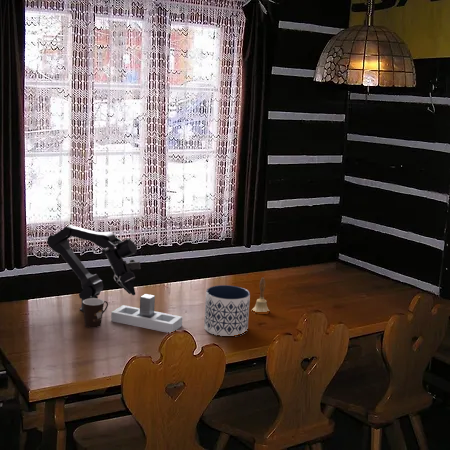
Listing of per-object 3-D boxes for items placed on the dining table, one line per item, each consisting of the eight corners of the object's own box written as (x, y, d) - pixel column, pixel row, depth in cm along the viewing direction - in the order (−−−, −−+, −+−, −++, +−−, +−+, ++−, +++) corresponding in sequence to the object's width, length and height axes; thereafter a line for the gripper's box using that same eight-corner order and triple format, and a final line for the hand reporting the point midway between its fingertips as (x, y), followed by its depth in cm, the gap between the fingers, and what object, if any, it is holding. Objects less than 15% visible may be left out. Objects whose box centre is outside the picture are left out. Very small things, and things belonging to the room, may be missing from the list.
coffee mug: (85, 329, 279) (86, 306, 277) (79, 322, 286) (80, 299, 284) (113, 326, 284) (114, 303, 282) (106, 319, 292) (107, 296, 290)
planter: (232, 341, 277) (235, 302, 273) (195, 330, 286) (197, 292, 282) (255, 328, 292) (258, 291, 288) (219, 318, 301) (221, 282, 297)
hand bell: (268, 315, 308) (271, 281, 305) (250, 313, 310) (252, 279, 306) (271, 309, 316) (273, 276, 312) (253, 307, 318) (255, 274, 314)
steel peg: (139, 324, 289) (140, 296, 286) (144, 320, 293) (145, 293, 290) (148, 326, 287) (150, 298, 284) (153, 322, 291) (154, 295, 289)
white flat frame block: (111, 321, 290) (111, 312, 289) (122, 313, 299) (123, 305, 298) (171, 333, 281) (172, 324, 280) (182, 325, 290) (182, 316, 289)
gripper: (137, 252, 285) (153, 286, 287) (129, 252, 303) (145, 284, 304) (113, 264, 282) (129, 299, 283) (106, 263, 300) (122, 296, 301)
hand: (132, 294), depth 293 cm, fingers open, 9 cm apart
